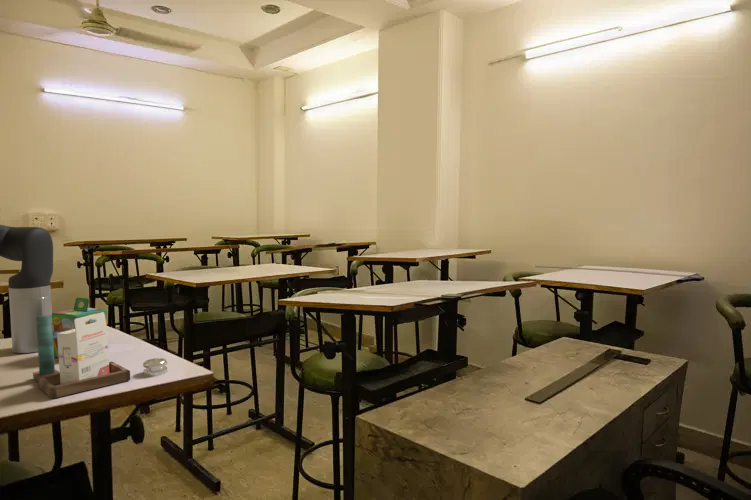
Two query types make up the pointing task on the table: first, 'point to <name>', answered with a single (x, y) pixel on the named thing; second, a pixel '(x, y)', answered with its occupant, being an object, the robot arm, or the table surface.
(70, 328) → the chalk box
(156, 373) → the metal grooved wheel
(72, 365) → the ink cartridge box
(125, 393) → the table surface
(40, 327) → the wooden display tray
